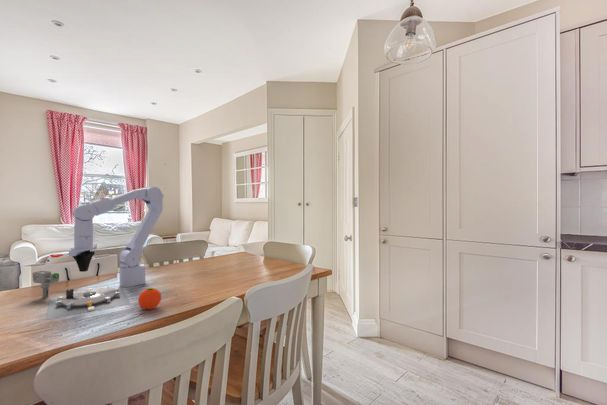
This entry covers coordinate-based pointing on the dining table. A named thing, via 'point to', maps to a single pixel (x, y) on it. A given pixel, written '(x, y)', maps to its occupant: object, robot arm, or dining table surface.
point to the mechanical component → (45, 280)
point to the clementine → (149, 298)
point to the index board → (63, 311)
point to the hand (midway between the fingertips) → (83, 271)
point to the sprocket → (87, 297)
